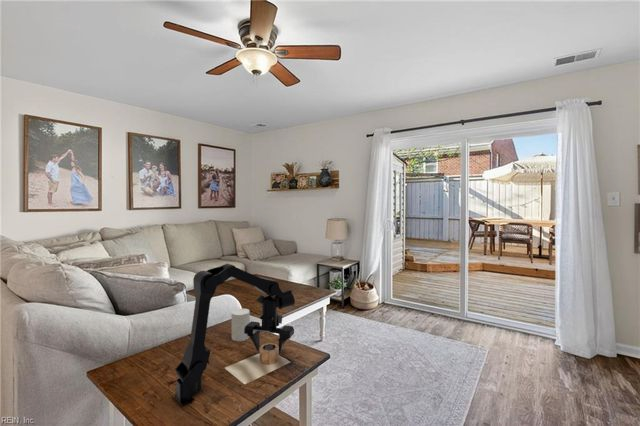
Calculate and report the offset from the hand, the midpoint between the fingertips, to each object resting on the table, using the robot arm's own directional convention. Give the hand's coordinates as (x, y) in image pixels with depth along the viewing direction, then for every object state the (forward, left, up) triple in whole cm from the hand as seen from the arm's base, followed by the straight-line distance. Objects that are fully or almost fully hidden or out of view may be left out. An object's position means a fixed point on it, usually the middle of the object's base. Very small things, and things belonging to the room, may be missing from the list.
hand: (269, 351), depth 115 cm
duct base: (-5, 0, -5) cm, 7 cm away
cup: (+4, +28, -5) cm, 29 cm away
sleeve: (0, 0, -3) cm, 3 cm away
